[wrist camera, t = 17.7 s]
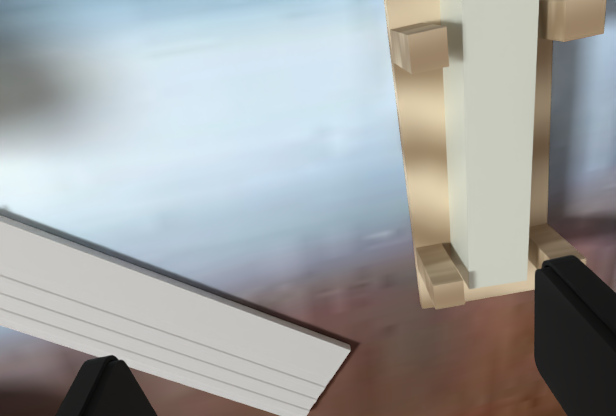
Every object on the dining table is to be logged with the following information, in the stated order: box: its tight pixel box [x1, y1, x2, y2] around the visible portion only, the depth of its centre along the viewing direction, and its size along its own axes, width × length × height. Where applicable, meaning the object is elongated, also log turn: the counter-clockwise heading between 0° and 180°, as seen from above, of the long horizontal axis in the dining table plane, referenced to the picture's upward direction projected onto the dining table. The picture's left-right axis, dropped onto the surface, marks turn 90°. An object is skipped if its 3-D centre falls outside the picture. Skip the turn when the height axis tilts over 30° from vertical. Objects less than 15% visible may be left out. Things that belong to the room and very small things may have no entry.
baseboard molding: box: [0, 215, 351, 416], centre depth 37 cm, size 31×3×12 cm
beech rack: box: [384, 0, 606, 309], centre depth 29 cm, size 26×10×6 cm, turn 12°
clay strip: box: [440, 0, 539, 289], centre depth 28 cm, size 20×4×4 cm, turn 10°
